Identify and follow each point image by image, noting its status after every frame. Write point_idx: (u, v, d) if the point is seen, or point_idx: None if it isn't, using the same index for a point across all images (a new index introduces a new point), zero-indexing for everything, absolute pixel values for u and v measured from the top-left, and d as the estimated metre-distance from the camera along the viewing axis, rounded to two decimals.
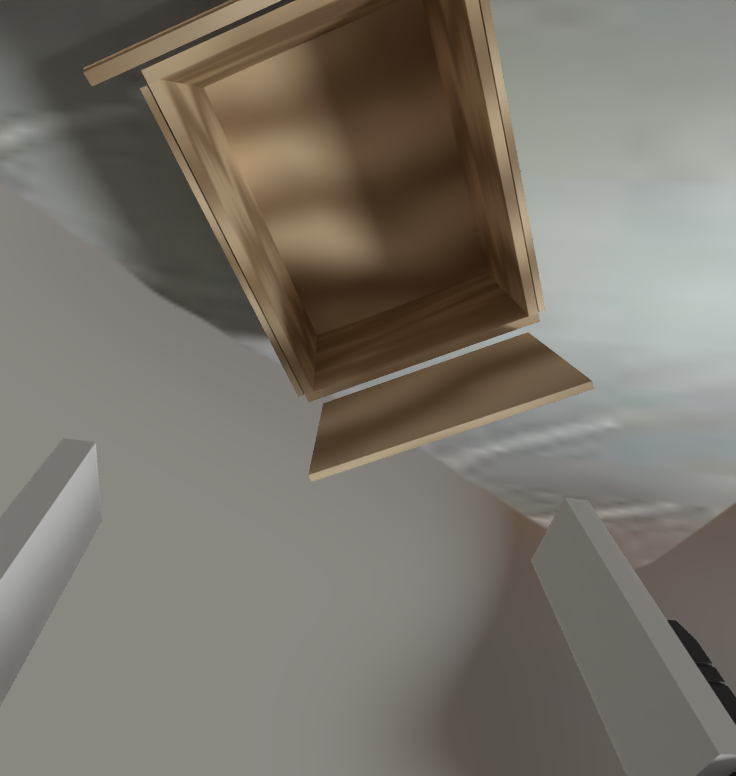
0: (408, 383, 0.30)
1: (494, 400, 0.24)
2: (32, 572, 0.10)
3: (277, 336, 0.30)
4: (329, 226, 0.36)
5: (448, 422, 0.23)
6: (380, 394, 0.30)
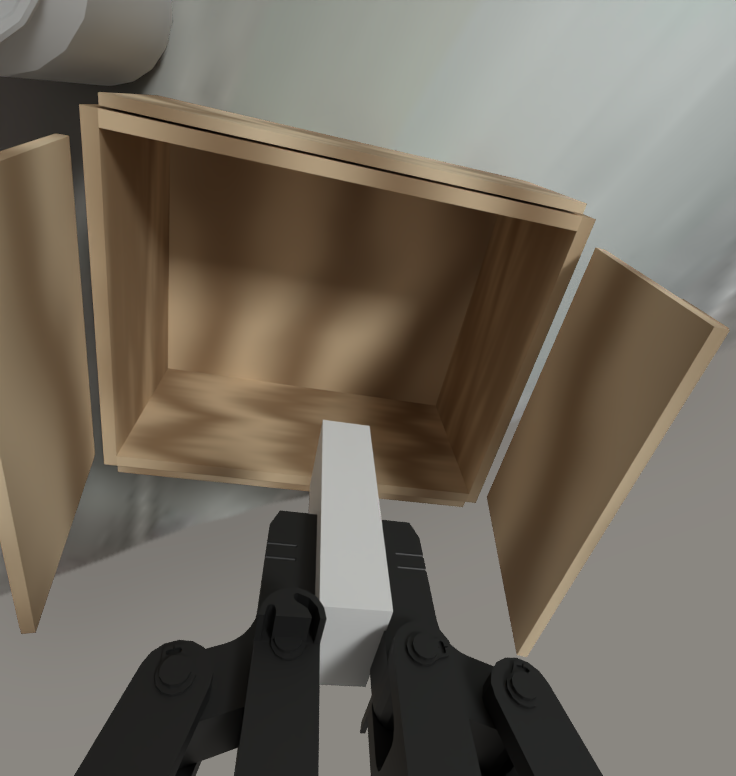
0: (531, 428, 0.23)
1: (618, 434, 0.15)
2: None
3: (389, 491, 0.27)
4: (341, 335, 0.32)
5: (591, 507, 0.16)
6: (518, 461, 0.23)
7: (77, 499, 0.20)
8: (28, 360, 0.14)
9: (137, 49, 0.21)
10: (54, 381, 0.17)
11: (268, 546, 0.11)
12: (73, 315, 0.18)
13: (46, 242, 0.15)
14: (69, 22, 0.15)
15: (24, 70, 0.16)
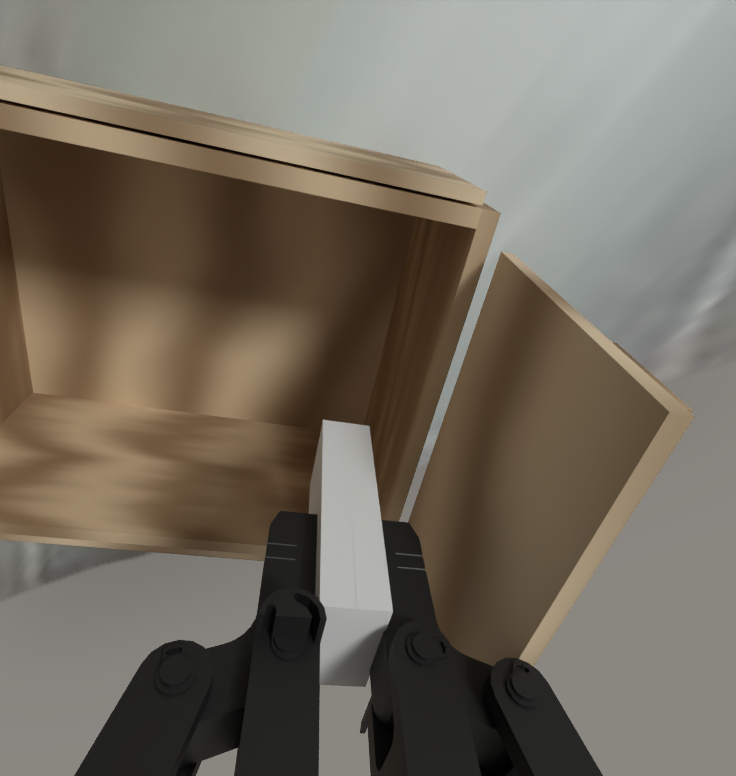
0: (435, 487, 0.17)
1: (530, 547, 0.10)
2: None
3: None
4: (239, 354, 0.27)
5: (498, 650, 0.11)
6: (423, 529, 0.18)
7: None
8: None
9: None
10: None
11: (268, 546, 0.11)
12: None
13: None
14: None
15: None
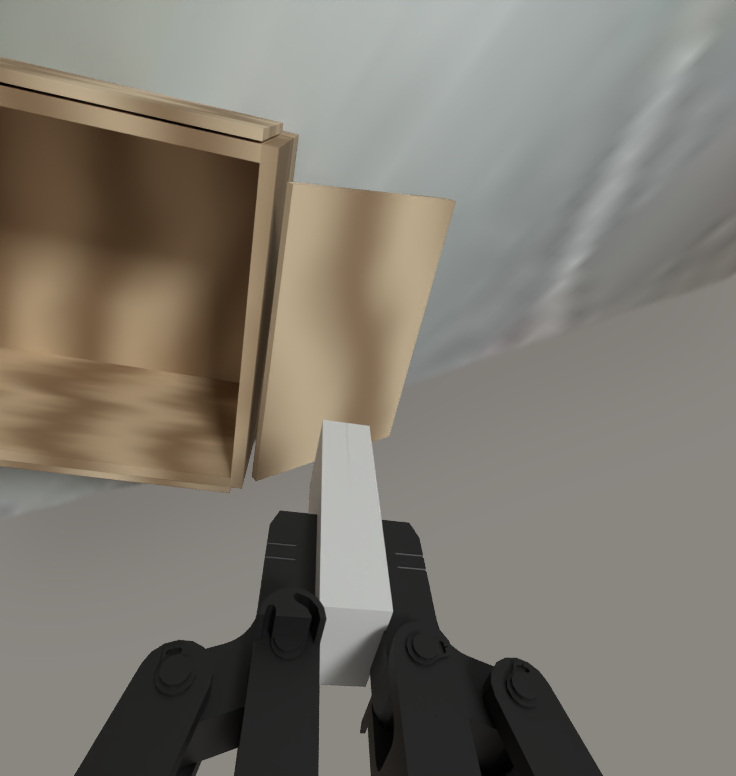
0: (300, 374, 0.22)
1: (414, 287, 0.24)
2: None
3: (137, 473, 0.24)
4: (134, 304, 0.29)
5: (411, 330, 0.26)
6: (299, 406, 0.23)
7: None
8: None
9: None
10: None
11: (268, 546, 0.11)
12: None
13: None
14: None
15: None
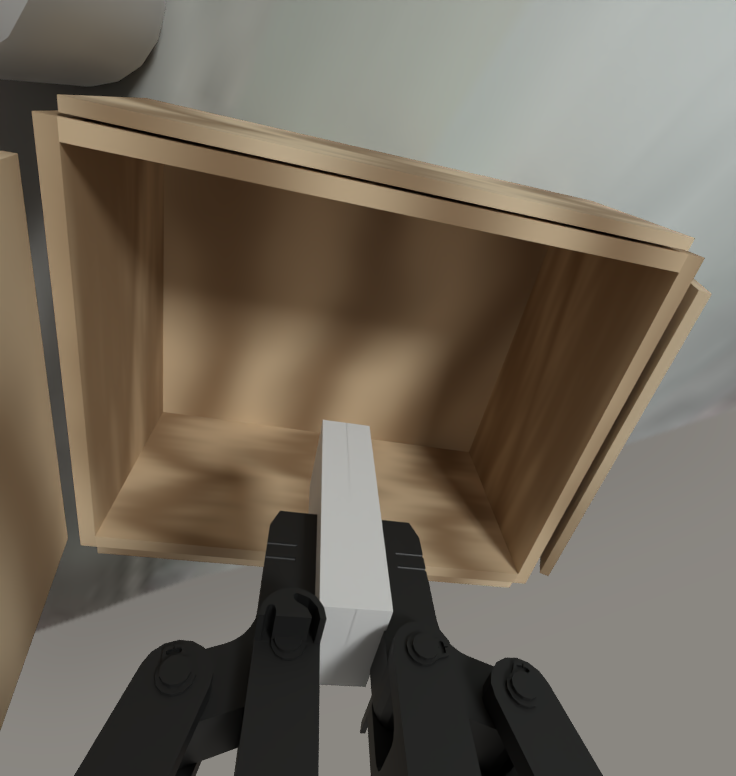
0: None
1: None
2: None
3: None
4: (363, 375, 0.28)
5: None
6: None
7: (39, 609, 0.16)
8: None
9: (119, 39, 0.16)
10: None
11: (268, 546, 0.11)
12: (29, 385, 0.14)
13: None
14: None
15: None
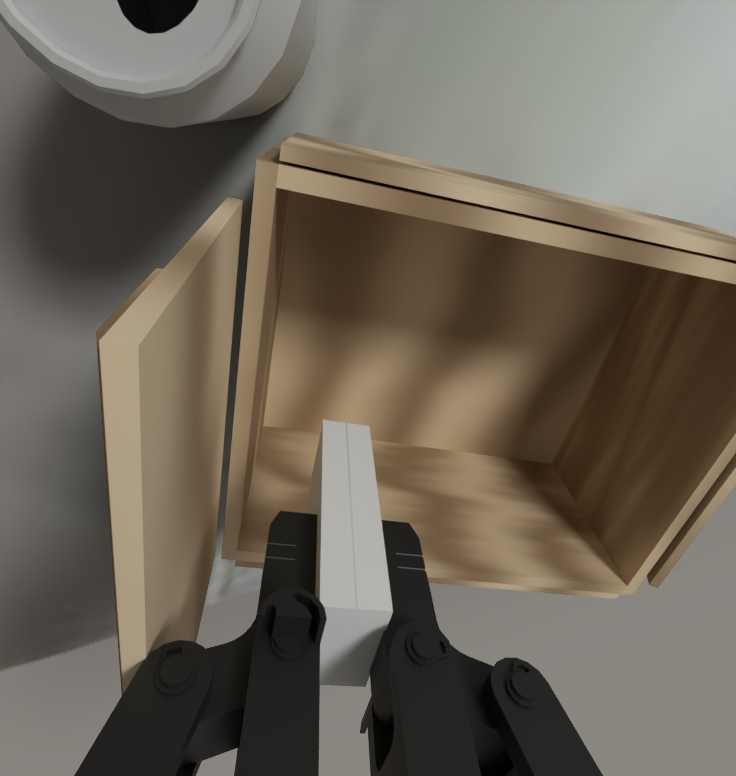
0: None
1: None
2: None
3: (538, 584, 0.23)
4: (459, 390, 0.28)
5: None
6: None
7: (198, 624, 0.17)
8: (184, 515, 0.10)
9: (288, 81, 0.17)
10: (199, 512, 0.13)
11: (268, 546, 0.11)
12: (220, 413, 0.15)
13: (214, 346, 0.11)
14: (266, 61, 0.12)
15: (198, 120, 0.12)
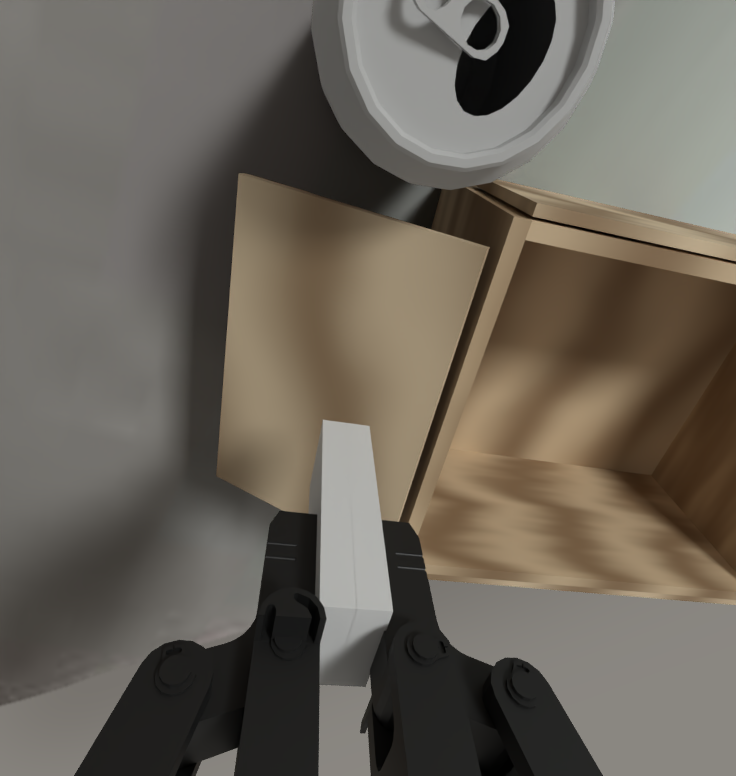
0: None
1: None
2: None
3: (673, 592, 0.25)
4: (574, 407, 0.30)
5: None
6: None
7: None
8: (285, 336, 0.19)
9: None
10: (321, 395, 0.19)
11: (268, 546, 0.11)
12: (396, 399, 0.18)
13: (361, 294, 0.17)
14: (551, 134, 0.13)
15: (477, 183, 0.14)
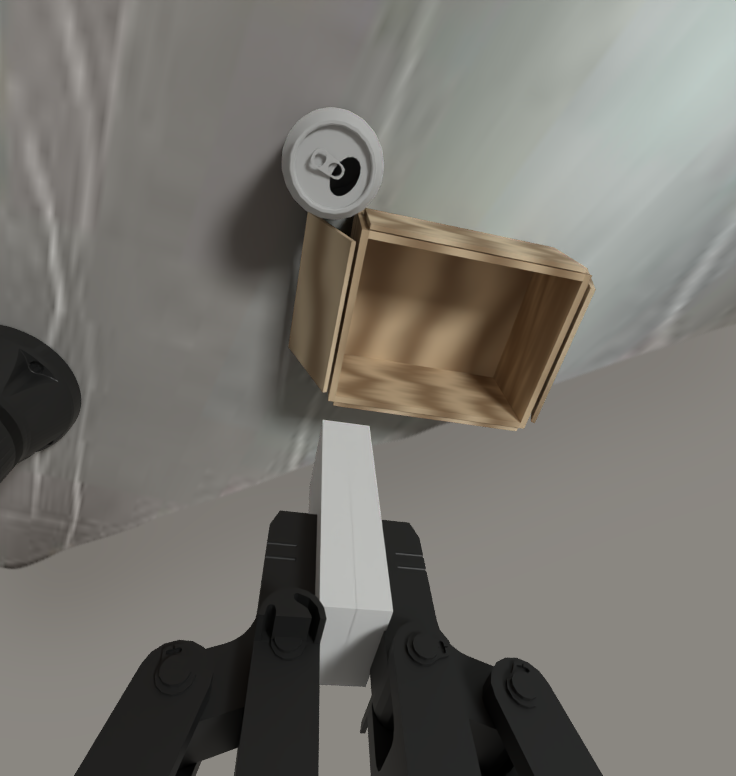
0: None
1: None
2: None
3: (476, 420, 0.48)
4: (439, 332, 0.53)
5: None
6: None
7: (309, 371, 0.47)
8: (310, 277, 0.45)
9: None
10: (315, 304, 0.45)
11: (268, 546, 0.11)
12: (330, 306, 0.42)
13: (327, 259, 0.42)
14: (369, 200, 0.36)
15: (345, 217, 0.37)
